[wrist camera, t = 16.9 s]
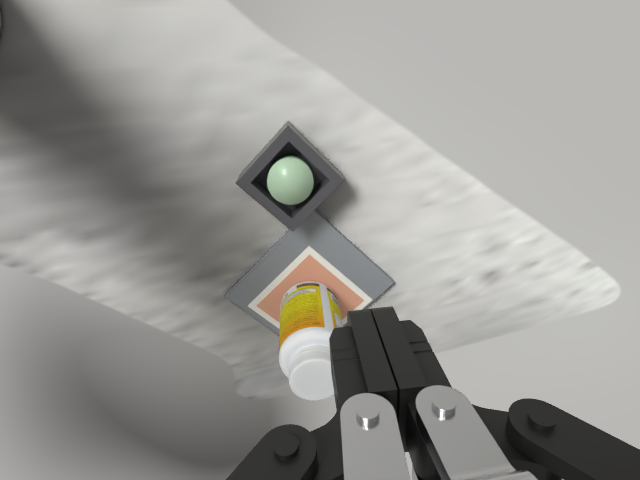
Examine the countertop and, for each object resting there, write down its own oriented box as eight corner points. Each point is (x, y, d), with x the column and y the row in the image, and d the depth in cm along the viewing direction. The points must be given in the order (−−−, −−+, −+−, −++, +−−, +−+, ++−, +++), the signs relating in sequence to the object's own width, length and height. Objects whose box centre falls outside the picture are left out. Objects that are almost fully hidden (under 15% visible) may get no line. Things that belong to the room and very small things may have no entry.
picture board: (225, 293, 37) (224, 298, 37) (311, 207, 34) (312, 209, 34) (308, 353, 41) (308, 358, 40) (392, 279, 38) (394, 283, 37)
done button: (259, 177, 32) (257, 183, 30) (289, 144, 31) (288, 149, 29) (291, 205, 33) (291, 213, 31) (321, 175, 32) (323, 181, 30)
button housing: (240, 174, 33) (235, 183, 30) (288, 120, 31) (287, 125, 28) (292, 219, 35) (292, 231, 32) (339, 170, 33) (344, 179, 30)
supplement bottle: (269, 312, 38) (263, 392, 28) (300, 268, 36) (303, 338, 26) (317, 335, 39) (326, 419, 30) (349, 295, 37) (368, 369, 28)
